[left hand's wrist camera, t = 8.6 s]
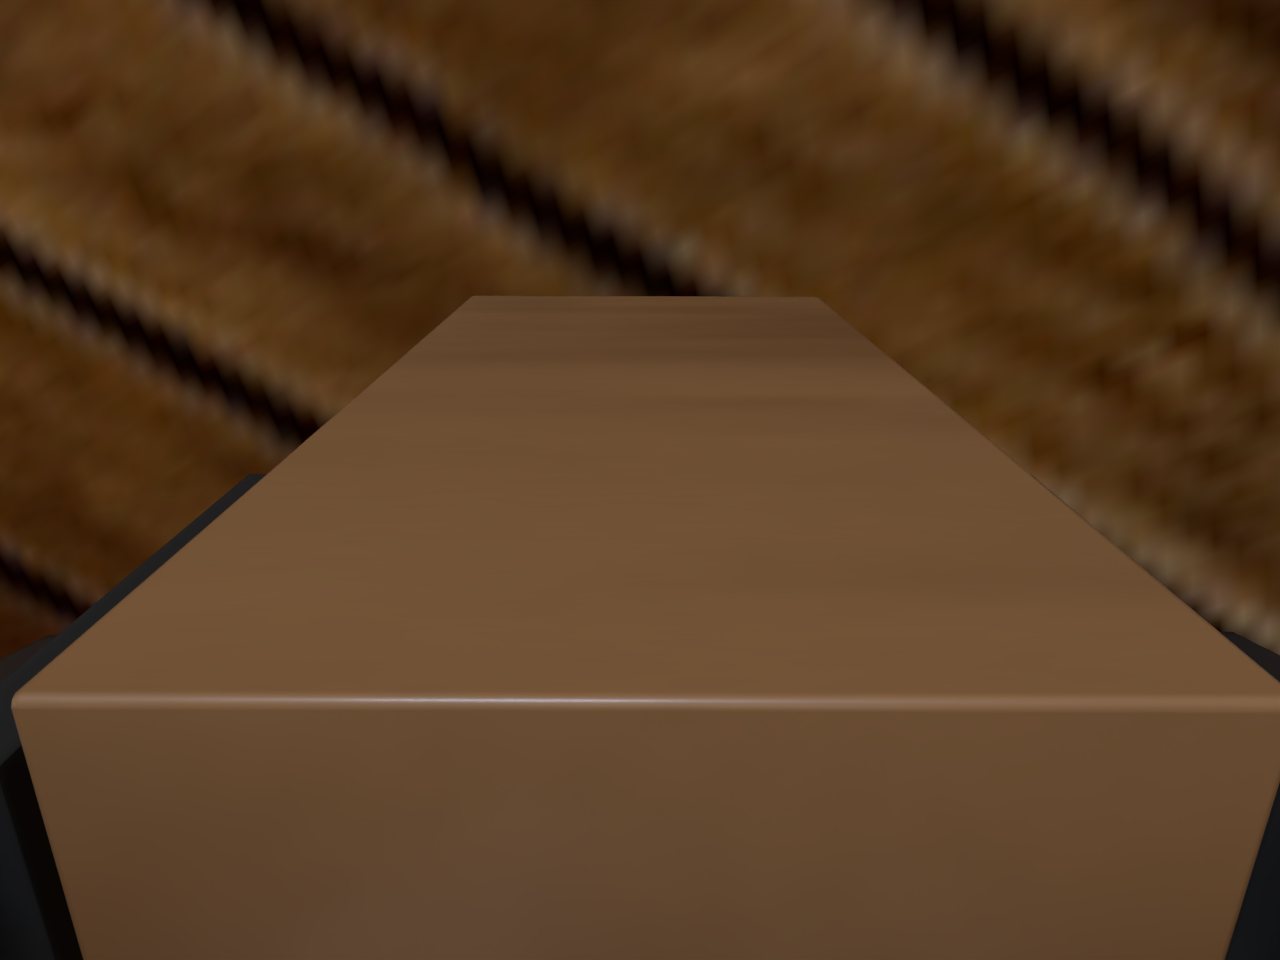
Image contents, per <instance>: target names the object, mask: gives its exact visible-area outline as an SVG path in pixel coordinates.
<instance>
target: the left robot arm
mask: <svg viewBox="0 0 1280 960" xmlns="http://www.w3.org/2000/svg"><path fill="white" fill-rule="evenodd" d="M266 475H267V474H249V475H248V476H247V477H245V478H244V479H243V480H242V481H241V482H239V483H238V484H237V485H236V486H235V487H234V488H232V489H231V490H230V491H229V492H228V493H226V494H225V495H224V496H223V497H222V498H220V499H219V500H218V501H217V502H216V503H214V504H213V505H212V506H211V507H210V508H209V509H207V510H206V511H205V512H204V513H203V514H201V515H200V516H199V517H198V518H197V519H195V520H194V521H193V522H192V523H191V524H189V525H188V526H187V527H186V528H185V529H183V530H182V531H181V532H180V533H179V534H178V535H176V536H175V537H174V538H173V539H172V540H170V541H169V542H168V543H167V544H166V545H164V546H163V547H162V548H161V549H160V550H158V551H157V552H156V553H155V554H154V555H153V556H151V557H150V558H149V559H148V560H147V561H145V562H144V563H143V564H142V565H141V566H139V567H138V568H137V569H136V570H135V571H133V572H132V573H131V574H130V575H129V576H127V577H126V578H125V579H124V580H123V581H122V582H120V583H119V584H118V585H117V586H116V587H114V588H113V589H112V590H111V591H110V592H108V593H107V594H106V595H105V596H104V597H102V598H101V599H100V600H99V601H98V602H97V603H95V604H94V605H93V606H92V607H91V608H89V609H88V610H87V611H86V612H85V613H83V614H82V615H81V616H80V617H79V618H77V619H76V620H75V621H74V622H73V623H71V624H70V625H69V626H68V627H67V628H66V629H64V630H63V631H62V632H61V633H60V634H58V635H48V636H46V637H44V638H42V639H40V640H38V641H36V642H34V643H32V644H30V645H28V646H26V647H24V648H22V649H20V650H18V651H16V652H14V653H12V654H10V655H8V656H6V657H4V658H2V659H0V960H83V957H82V953H81V950H80V946H79V943H78V940H77V936H76V933H75V929H74V926H73V922H72V919H71V915H70V912H69V908H68V905H67V901H66V898H65V894H64V891H63V887H62V884H61V880H60V877H59V873H58V870H57V866H56V863H55V859H54V856H53V852H52V849H51V845H50V842H49V838H48V835H47V831H46V828H45V824H44V821H43V818H42V814H41V811H40V807H39V804H38V800H37V797H36V793H35V790H34V786H33V783H32V779H31V776H30V772H29V769H28V765H27V762H26V758H25V755H24V751H23V748H22V744H21V741H20V737H19V734H18V730H17V727H16V723H15V720H14V716H13V713H12V709H11V704H12V699H13V697H14V695H15V693H16V692H17V691H18V690H19V689H20V688H21V687H23V686H24V685H25V684H26V683H27V682H28V681H30V680H31V679H32V678H33V677H34V676H35V675H36V674H38V673H39V672H40V671H41V670H42V669H43V668H44V667H46V666H47V665H48V664H49V663H50V662H51V661H53V660H54V659H55V658H56V657H57V656H58V655H59V654H61V653H62V652H63V651H64V650H65V649H66V648H68V647H69V646H70V645H71V644H72V643H73V642H74V641H76V640H77V639H78V638H79V637H80V636H81V635H82V634H84V633H85V632H86V631H87V630H88V629H89V628H91V627H92V626H93V625H94V624H95V623H96V622H97V621H99V620H100V619H101V618H102V617H103V616H104V615H106V614H107V613H108V612H109V611H110V610H111V609H112V608H114V607H115V606H116V605H117V604H118V603H119V602H120V601H122V600H123V599H124V598H125V597H126V596H127V595H129V594H130V593H131V592H132V591H133V590H134V589H135V588H137V587H138V586H139V585H140V584H141V583H142V582H144V581H145V580H146V579H147V578H148V577H149V576H150V575H152V574H153V573H154V572H155V571H156V570H157V569H158V568H160V567H161V566H162V565H163V564H164V563H165V562H167V561H168V560H169V559H170V558H171V557H172V556H173V555H175V554H176V553H177V552H178V551H179V550H180V549H182V548H183V547H184V546H185V545H186V544H187V543H188V542H190V541H191V540H192V539H193V538H194V537H195V536H196V535H198V534H199V533H200V532H201V531H202V530H203V529H205V528H206V527H207V526H208V525H209V524H210V523H211V522H213V521H214V520H215V519H216V518H217V517H218V516H220V515H221V514H222V513H223V512H224V511H225V510H226V509H228V508H229V507H230V506H231V505H232V504H233V503H234V502H236V501H237V500H238V499H239V498H240V497H241V496H243V495H244V494H245V493H246V492H247V491H248V490H249V489H251V488H252V487H253V486H254V485H255V484H256V483H258V482H259V481H260V480H261V479H262V478H263V477H264V476H266ZM1030 475H1031V474H1030ZM1034 478H1035V477H1034ZM1035 479H1036V478H1035ZM1036 480H1037V479H1036ZM1040 483H1041V482H1040ZM1041 484H1042V483H1041ZM1042 485H1043V484H1042ZM1047 489H1048V488H1047ZM1048 490H1049V489H1048ZM1053 494H1054V493H1053ZM1054 495H1055V494H1054ZM1059 499H1060V498H1059ZM1060 500H1061V499H1060ZM1065 504H1066V503H1065ZM1066 505H1067V504H1066ZM1072 510H1073V509H1072ZM1078 515H1079V514H1078ZM1084 520H1085V519H1084ZM1090 525H1091V524H1090ZM1220 633H1221V634H1222V635H1224V636H1225V637H1226V638H1227V639H1228V640H1230V641H1231V642H1232V643H1233V644H1234V645H1236V646H1237V647H1238V648H1239V649H1240V650H1242V651H1243V652H1244V653H1245V654H1246V655H1248V656H1249V657H1250V658H1251V659H1252V660H1254V661H1255V662H1256V663H1257V664H1258V665H1260V666H1261V667H1262V668H1263V669H1264V670H1266V671H1267V672H1268V673H1269V674H1270V675H1272V676H1273V677H1274V678H1275V679H1276V680H1278V681H1279V682H1280V655H1278V654H1276V653H1274V652H1272V651H1270V650H1268V649H1266V648H1264V647H1262V646H1260V645H1258V644H1256V643H1254V642H1252V641H1250V640H1248V639H1246V638H1244V637H1242V636H1240V635H1238V634H1236V633H1234V632H1220ZM1225 960H1280V783H1279V786H1278V789H1277V793H1276V796H1275V799H1274V802H1273V805H1272V809H1271V812H1270V815H1269V818H1268V822H1267V825H1266V828H1265V831H1264V835H1263V838H1262V841H1261V844H1260V847H1259V851H1258V854H1257V857H1256V860H1255V864H1254V867H1253V870H1252V873H1251V877H1250V880H1249V883H1248V886H1247V889H1246V893H1245V896H1244V899H1243V902H1242V906H1241V909H1240V912H1239V915H1238V919H1237V922H1236V925H1235V928H1234V931H1233V935H1232V938H1231V941H1230V944H1229V948H1228V951H1227V954H1226V957H1225Z"/></svg>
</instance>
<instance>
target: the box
mask: <svg viewBox="0 0 1280 960" xmlns="http://www.w3.org/2000/svg"><path fill="white" fill-rule="evenodd" d="M11 709H12V713H13V716H14V720H15V723H16V727H17V730H18V734H19V737H20V741H21V744H22V748H23V751H24V755H25V758H26V762H27V765H28V769H29V772H30V776H31V779H32V783H33V786H34V790H35V793H36V797H37V800H38V804H39V807H40V811H41V814H42V818H43V821H44V824H45V828H46V831H47V835H48V838H49V842H50V845H51V849H52V852H53V856H54V859H55V863H56V866H57V870H58V873H59V877H60V880H61V884H62V887H63V891H64V894H65V898H66V901H67V905H68V908H69V912H70V915H71V919H72V922H73V926H74V929H75V933H76V936H77V940H78V943H79V946H80V950H81V953H82V957H83V960H1225V957H1226V954H1227V951H1228V948H1229V944H1230V941H1231V938H1232V935H1233V931H1234V928H1235V925H1236V922H1237V919H1238V915H1239V912H1240V909H1241V906H1242V902H1243V899H1244V896H1245V893H1246V889H1247V886H1248V883H1249V880H1250V877H1251V873H1252V870H1253V867H1254V864H1255V860H1256V857H1257V854H1258V851H1259V847H1260V844H1261V841H1262V838H1263V835H1264V831H1265V828H1266V825H1267V822H1268V818H1269V815H1270V812H1271V809H1272V805H1273V802H1274V799H1275V796H1276V793H1277V789H1278V786H1279V783H1280V682H1279V681H1278V680H1276V679H1275V678H1274V677H1273V676H1272V675H1270V674H1269V673H1268V672H1267V671H1266V670H1264V669H1263V668H1262V667H1261V666H1260V665H1258V664H1257V663H1256V662H1255V661H1254V660H1252V659H1251V658H1250V657H1249V656H1248V655H1246V654H1245V653H1244V652H1243V651H1242V650H1240V649H1239V648H1238V647H1237V646H1236V645H1234V644H1233V643H1232V642H1231V641H1230V640H1228V639H1227V638H1226V637H1225V636H1224V635H1222V634H1221V633H1220V632H1219V631H1218V630H1216V629H1215V628H1214V627H1213V626H1212V625H1210V624H1209V623H1208V622H1207V621H1206V620H1204V619H1203V618H1202V617H1201V616H1200V615H1198V614H1197V613H1196V612H1195V611H1194V610H1192V609H1191V608H1190V607H1189V606H1188V605H1186V604H1185V603H1184V602H1183V601H1182V600H1180V599H1179V598H1178V597H1177V596H1176V595H1174V594H1173V593H1172V592H1171V591H1170V590H1168V589H1167V588H1166V587H1165V586H1164V585H1162V584H1161V583H1160V582H1159V581H1158V580H1156V579H1155V578H1154V577H1153V576H1152V575H1150V574H1149V573H1148V572H1147V571H1146V570H1144V569H1143V568H1142V567H1141V566H1140V565H1138V564H1137V563H1136V562H1135V561H1134V560H1132V559H1131V558H1130V557H1129V556H1128V555H1126V554H1125V553H1124V552H1123V551H1122V550H1120V549H1119V548H1118V547H1117V546H1116V545H1114V544H1113V543H1112V542H1111V541H1110V540H1108V539H1107V538H1106V537H1105V536H1104V535H1102V534H1101V533H1100V532H1099V531H1098V530H1096V529H1095V528H1094V527H1093V526H1092V525H1090V524H1089V523H1088V522H1087V521H1086V520H1084V519H1083V518H1082V517H1081V516H1080V515H1078V514H1077V513H1076V512H1075V511H1074V510H1072V509H1071V508H1070V507H1069V506H1068V505H1066V504H1065V503H1064V502H1063V501H1062V500H1060V499H1059V498H1058V497H1057V496H1056V495H1054V494H1053V493H1052V492H1051V491H1050V490H1048V489H1047V488H1046V487H1045V486H1044V485H1042V484H1041V483H1040V482H1039V481H1038V480H1036V479H1035V478H1034V477H1033V476H1032V475H1030V474H1029V473H1028V472H1027V471H1026V470H1024V469H1023V468H1022V467H1021V466H1020V465H1018V464H1017V463H1016V462H1015V461H1014V460H1012V459H1011V458H1010V457H1009V456H1008V455H1006V454H1005V453H1004V452H1003V451H1002V450H1000V449H999V448H998V447H997V446H996V445H994V444H993V443H992V442H991V441H990V440H989V439H987V438H986V437H985V436H984V435H983V434H981V433H980V432H979V431H978V430H977V429H975V428H974V427H973V426H972V425H971V424H969V423H968V422H967V421H966V420H965V419H963V418H962V417H961V416H960V415H959V414H957V413H956V412H955V411H954V410H953V409H951V408H950V407H949V406H948V405H947V404H945V403H944V402H943V401H942V400H941V399H939V398H938V397H937V396H936V395H935V394H933V393H932V392H931V391H930V390H929V389H927V388H926V387H925V386H924V385H923V384H921V383H920V382H919V381H918V380H917V379H915V378H914V377H913V376H912V375H911V374H909V373H908V372H907V371H906V370H905V369H903V368H902V367H901V366H900V365H899V364H897V363H896V362H895V361H894V360H893V359H891V358H890V357H889V356H888V355H887V354H885V353H884V352H883V351H882V350H881V349H879V348H878V347H877V346H876V345H875V344H873V343H872V342H871V341H870V340H869V339H867V338H866V337H865V336H864V335H863V334H861V333H860V332H859V331H858V330H857V329H855V328H854V327H853V326H852V325H851V324H849V323H848V322H847V321H846V320H845V319H843V318H842V317H841V316H840V315H839V314H837V313H836V312H835V311H834V310H833V309H831V308H830V307H829V306H828V305H827V304H825V303H824V302H823V301H822V300H821V299H819V298H817V297H680V296H472V297H471V298H469V299H468V300H467V301H466V302H465V303H464V304H462V305H461V306H460V307H459V308H458V309H457V310H456V311H454V312H453V313H452V314H451V315H450V316H449V317H448V318H446V319H445V320H444V321H443V322H442V323H441V324H439V325H438V326H437V327H436V328H435V329H434V330H433V331H431V332H430V333H429V334H428V335H427V336H426V337H424V338H423V339H422V340H421V341H420V342H419V343H418V344H416V345H415V346H414V347H413V348H412V349H411V350H410V351H408V352H407V353H406V354H405V355H404V356H403V357H401V358H400V359H399V360H398V361H397V362H396V363H395V364H393V365H392V366H391V367H390V368H389V369H388V370H386V371H385V372H384V373H383V374H382V375H381V376H380V377H378V378H377V379H376V380H375V381H374V382H373V383H372V384H370V385H369V386H368V387H367V388H366V389H365V390H363V391H362V392H361V393H360V394H359V395H358V396H357V397H355V398H354V399H353V400H352V401H351V402H350V403H348V404H347V405H346V406H345V407H344V408H343V409H342V410H340V411H339V412H338V413H337V414H336V415H335V416H334V417H332V418H331V419H330V420H329V421H328V422H327V423H325V424H324V425H323V426H322V427H321V428H320V429H319V430H317V431H316V432H315V433H314V434H313V435H312V436H310V437H309V438H308V439H307V440H306V441H305V442H304V443H302V444H301V445H300V446H299V447H298V448H297V449H296V450H294V451H293V452H292V453H291V454H290V455H289V456H287V457H286V458H285V459H284V460H283V461H282V462H281V463H279V464H278V465H277V466H276V467H275V468H274V469H272V470H271V471H270V472H269V473H268V474H267V475H266V476H264V477H263V478H262V479H261V480H260V481H259V482H258V483H256V484H255V485H254V486H253V487H252V488H251V489H249V490H248V491H247V492H246V493H245V494H244V495H243V496H241V497H240V498H239V499H238V500H237V501H236V502H234V503H233V504H232V505H231V506H230V507H229V508H228V509H226V510H225V511H224V512H223V513H222V514H221V515H220V516H218V517H217V518H216V519H215V520H214V521H213V522H211V523H210V524H209V525H208V526H207V527H206V528H205V529H203V530H202V531H201V532H200V533H199V534H198V535H196V536H195V537H194V538H193V539H192V540H191V541H190V542H188V543H187V544H186V545H185V546H184V547H183V548H182V549H180V550H179V551H178V552H177V553H176V554H175V555H173V556H172V557H171V558H170V559H169V560H168V561H167V562H165V563H164V564H163V565H162V566H161V567H160V568H158V569H157V570H156V571H155V572H154V573H153V574H152V575H150V576H149V577H148V578H147V579H146V580H145V581H144V582H142V583H141V584H140V585H139V586H138V587H137V588H135V589H134V590H133V591H132V592H131V593H130V594H129V595H127V596H126V597H125V598H124V599H123V600H122V601H120V602H119V603H118V604H117V605H116V606H115V607H114V608H112V609H111V610H110V611H109V612H108V613H107V614H106V615H104V616H103V617H102V618H101V619H100V620H99V621H97V622H96V623H95V624H94V625H93V626H92V627H91V628H89V629H88V630H87V631H86V632H85V633H84V634H82V635H81V636H80V637H79V638H78V639H77V640H76V641H74V642H73V643H72V644H71V645H70V646H69V647H68V648H66V649H65V650H64V651H63V652H62V653H61V654H59V655H58V656H57V657H56V658H55V659H54V660H53V661H51V662H50V663H49V664H48V665H47V666H46V667H44V668H43V669H42V670H41V671H40V672H39V673H38V674H36V675H35V676H34V677H33V678H32V679H31V680H30V681H28V682H27V683H26V684H25V685H24V686H23V687H21V688H20V689H19V690H18V691H17V692H16V693H15V695H14V697H13V699H12V704H11Z"/></svg>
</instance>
